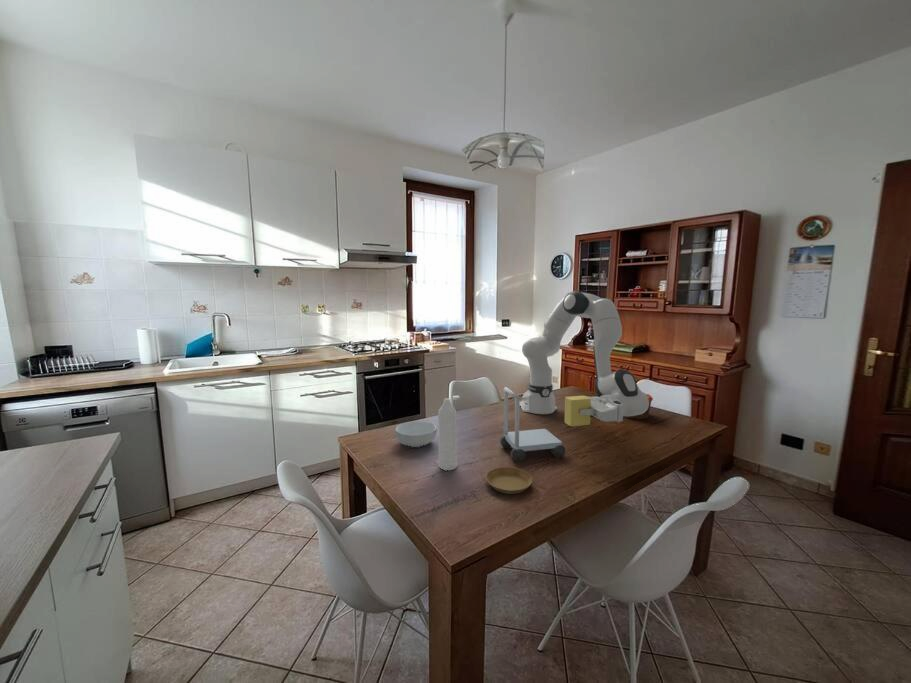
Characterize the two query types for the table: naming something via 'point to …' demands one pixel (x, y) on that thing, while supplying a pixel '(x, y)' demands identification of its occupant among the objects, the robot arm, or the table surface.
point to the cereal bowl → (416, 433)
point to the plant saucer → (509, 480)
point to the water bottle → (447, 435)
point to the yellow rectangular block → (577, 410)
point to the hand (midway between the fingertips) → (575, 409)
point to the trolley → (527, 435)
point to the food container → (645, 414)
